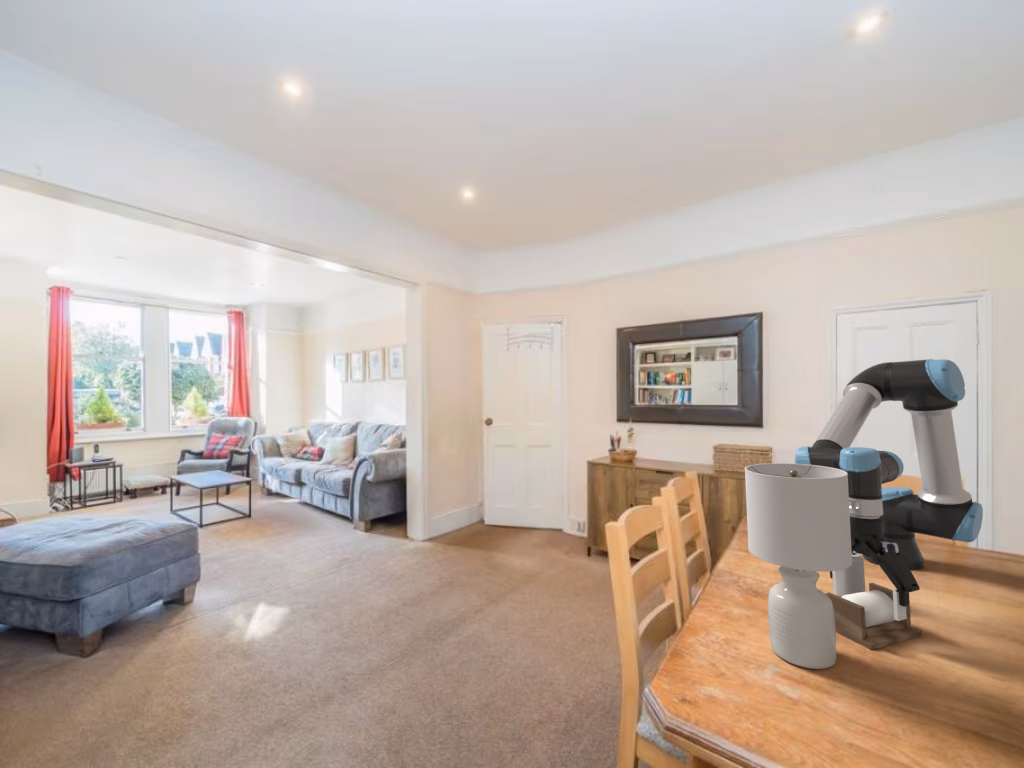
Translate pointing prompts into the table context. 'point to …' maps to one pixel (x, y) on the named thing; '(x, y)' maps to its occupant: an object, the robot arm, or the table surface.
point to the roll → (874, 606)
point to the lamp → (800, 552)
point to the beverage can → (854, 576)
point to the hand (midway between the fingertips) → (867, 605)
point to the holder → (873, 637)
